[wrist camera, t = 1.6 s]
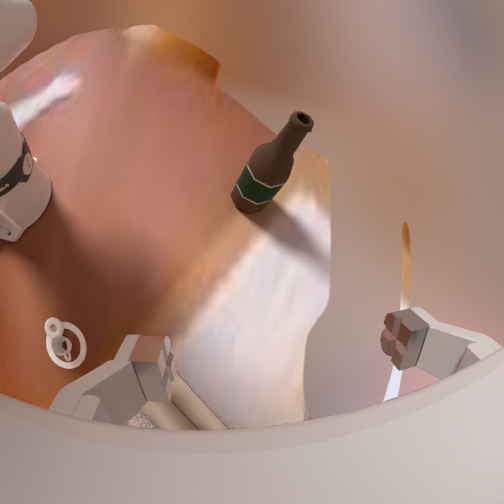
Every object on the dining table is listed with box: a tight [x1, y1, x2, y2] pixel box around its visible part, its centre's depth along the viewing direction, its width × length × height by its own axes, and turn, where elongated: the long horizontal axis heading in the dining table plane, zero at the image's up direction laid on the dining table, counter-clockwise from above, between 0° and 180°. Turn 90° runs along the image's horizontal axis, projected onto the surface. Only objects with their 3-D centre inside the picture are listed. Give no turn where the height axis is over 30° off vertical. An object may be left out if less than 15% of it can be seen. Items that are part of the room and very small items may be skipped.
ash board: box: [140, 371, 229, 430], centre depth 37 cm, size 9×18×2 cm, turn 40°
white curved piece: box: [45, 317, 87, 369], centre depth 33 cm, size 9×8×4 cm
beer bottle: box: [231, 112, 314, 214], centre depth 45 cm, size 8×8×24 cm
